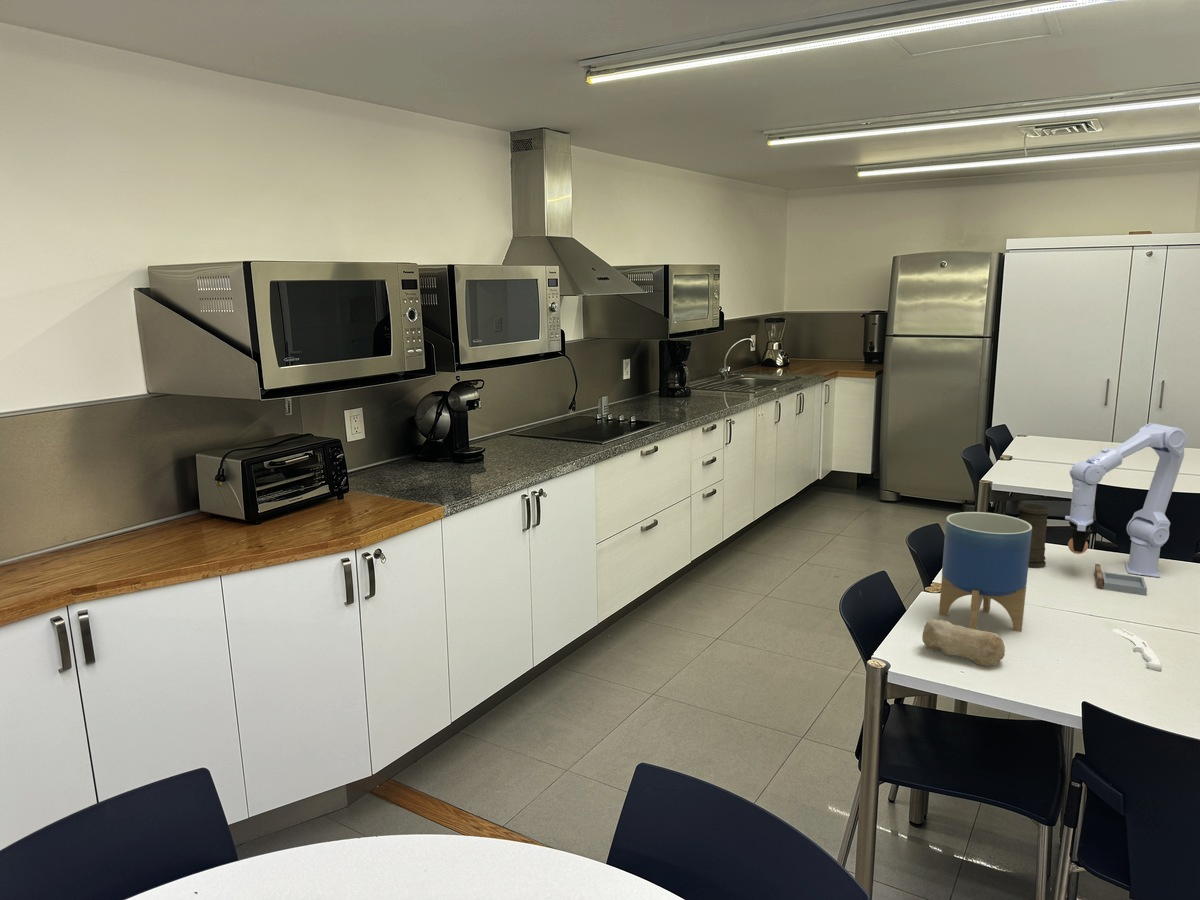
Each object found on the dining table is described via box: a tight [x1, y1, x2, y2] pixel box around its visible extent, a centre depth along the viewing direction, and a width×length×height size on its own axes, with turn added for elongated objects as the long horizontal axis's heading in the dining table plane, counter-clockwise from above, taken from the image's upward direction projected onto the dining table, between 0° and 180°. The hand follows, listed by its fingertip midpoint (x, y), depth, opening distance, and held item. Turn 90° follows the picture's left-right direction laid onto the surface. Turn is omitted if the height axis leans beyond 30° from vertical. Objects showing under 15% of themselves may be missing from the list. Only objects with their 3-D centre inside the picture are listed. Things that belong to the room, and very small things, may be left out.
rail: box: [1093, 563, 1103, 590], centre depth 235 cm, size 14×1×3 cm, turn 152°
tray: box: [1102, 571, 1148, 596], centre depth 230 cm, size 10×10×2 cm
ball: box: [1067, 537, 1089, 555], centre depth 238 cm, size 5×5×5 cm
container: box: [1017, 503, 1050, 569], centre depth 249 cm, size 9×9×18 cm
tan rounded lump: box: [921, 618, 1006, 667], centre depth 187 cm, size 9×17×10 cm
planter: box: [938, 511, 1032, 633], centre depth 204 cm, size 19×19×26 cm
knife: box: [1111, 628, 1163, 672], centre depth 195 cm, size 30×2×8 cm
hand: (1077, 548), depth 238 cm, fingers closed on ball, 5 cm apart
